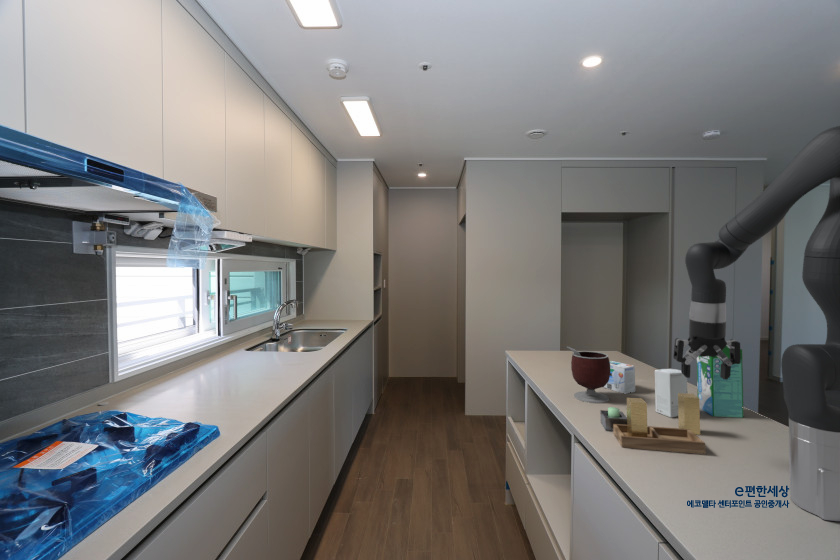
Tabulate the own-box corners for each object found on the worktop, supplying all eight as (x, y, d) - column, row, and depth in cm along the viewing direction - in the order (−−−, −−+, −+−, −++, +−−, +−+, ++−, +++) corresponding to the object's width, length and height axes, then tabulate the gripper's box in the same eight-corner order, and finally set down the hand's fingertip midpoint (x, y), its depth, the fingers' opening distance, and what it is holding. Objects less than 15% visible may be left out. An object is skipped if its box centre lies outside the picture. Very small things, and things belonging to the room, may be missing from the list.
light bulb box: (601, 387, 153) (601, 362, 153) (612, 384, 156) (611, 360, 156) (625, 394, 143) (624, 367, 143) (636, 391, 146) (635, 365, 146)
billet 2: (700, 434, 106) (699, 398, 106) (684, 433, 107) (683, 397, 107) (693, 429, 110) (692, 393, 110) (678, 428, 111) (677, 393, 111)
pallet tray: (705, 454, 95) (705, 443, 95) (622, 447, 100) (621, 436, 100) (689, 439, 104) (688, 429, 104) (613, 433, 109) (612, 423, 109)
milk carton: (743, 418, 118) (742, 342, 117) (712, 416, 119) (711, 342, 119) (726, 408, 126) (724, 337, 126) (697, 406, 128) (695, 337, 128)
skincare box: (670, 418, 119) (670, 373, 119) (654, 411, 125) (653, 369, 125) (689, 414, 121) (688, 371, 121) (672, 408, 127) (671, 367, 127)
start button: (621, 423, 111) (620, 411, 111) (609, 423, 112) (609, 410, 112) (618, 419, 114) (617, 407, 114) (607, 419, 115) (606, 406, 115)
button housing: (628, 432, 109) (628, 419, 109) (605, 430, 111) (605, 417, 111) (622, 423, 115) (622, 411, 115) (600, 422, 117) (600, 410, 117)
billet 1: (647, 442, 100) (646, 403, 100) (631, 440, 101) (630, 402, 101) (642, 435, 104) (641, 398, 104) (627, 434, 105) (626, 397, 105)
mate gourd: (606, 393, 145) (605, 344, 145) (614, 405, 132) (613, 351, 132) (565, 390, 150) (564, 343, 149) (569, 402, 136) (568, 349, 136)
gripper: (682, 321, 92) (680, 381, 94) (748, 321, 88) (745, 384, 90) (670, 315, 99) (669, 371, 101) (731, 315, 96) (728, 373, 97)
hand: (705, 377), depth 96 cm, fingers open, 8 cm apart
